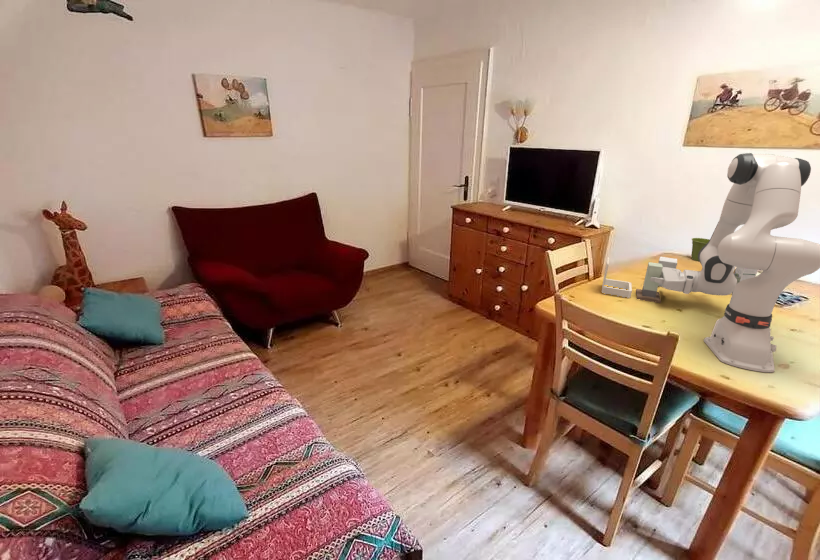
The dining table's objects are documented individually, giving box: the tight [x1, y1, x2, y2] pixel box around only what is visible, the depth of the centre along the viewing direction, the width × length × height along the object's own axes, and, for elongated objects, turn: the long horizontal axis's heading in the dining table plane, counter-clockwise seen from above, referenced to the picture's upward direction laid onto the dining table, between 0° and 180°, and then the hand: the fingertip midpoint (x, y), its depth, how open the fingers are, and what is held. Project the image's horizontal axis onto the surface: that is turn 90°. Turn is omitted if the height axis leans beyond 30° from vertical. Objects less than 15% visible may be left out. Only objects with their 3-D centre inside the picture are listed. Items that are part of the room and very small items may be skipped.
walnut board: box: [635, 288, 662, 304], centre depth 180 cm, size 11×9×1 cm
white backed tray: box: [601, 256, 633, 299], centre depth 183 cm, size 12×12×14 cm
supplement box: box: [657, 256, 678, 288], centre depth 192 cm, size 7×7×13 cm
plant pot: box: [690, 237, 710, 262], centre depth 228 cm, size 12×12×11 cm
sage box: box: [641, 261, 663, 298], centre depth 177 cm, size 5×5×14 cm
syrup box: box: [731, 267, 758, 294], centre depth 181 cm, size 6×6×14 cm
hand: (649, 275), depth 177 cm, fingers open, 8 cm apart
